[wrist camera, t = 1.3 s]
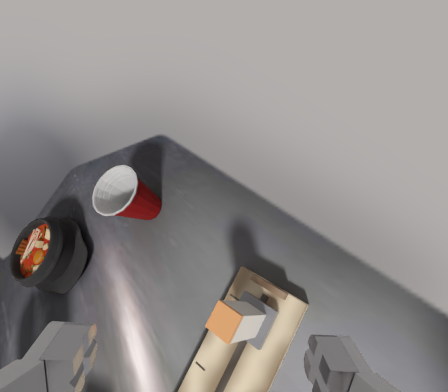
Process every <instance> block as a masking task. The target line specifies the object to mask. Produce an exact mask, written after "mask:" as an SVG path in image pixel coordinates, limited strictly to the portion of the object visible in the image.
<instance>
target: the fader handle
mask: <svg viewBox="0 0 448 392" xmlns="http://www.w3.org/2000/svg"><path fill="white" fill-rule="evenodd" d="M278 313H279V311H277V310H275V309H274V308H272V307H271V306H269V305H268V304H266V303H265V302H263V301H261V300H260V299H258V298H257V297H255V296H254V295H252V294H251V293H249V292H247V291H244V292H243V294H242V296H241V298H240V300H239V301H228V300H218V302H217V304H216V306H215V308H214V310H213V312H212V314H211V316H210V318H209V320H208V322H207V324H206V326H205V327H206V328H208V329H209V330H210V331H211V332H213V333H214V334H215V335H216V336H218V337H219V338H220V339H221V340H222V341H224V342H225V343H226V344H227V345H228V344H232V343H236V342H240V341H243V340H246V341H247V342H248V343H250V344H251V345H252V346H254V347H255V348H256V349H258V350H261V349H262V347H263V345H264V343H265V340H266V338H267V336H268V334H269V332H270V330H271V328H272V326H273V324H274V322H275V319H276V317H277V315H278Z"/></svg>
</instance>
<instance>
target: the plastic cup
mask: <svg viewBox="0 0 448 392" xmlns="http://www.w3.org/2000/svg"><path fill="white" fill-rule="evenodd" d="M92 199H93V206H94V208H95V210H96V211H97V213H99V214H101V215H103V216H112V215H116V216H124V217H130V218H136V219H144V220H151V219H153V218H155V217H156V216H157V215H158V214H159V212H160V210H161V205H162V204H161V200H160V199H159V198H158V197H157V196H156V195H155V194H154V193H153V192H152V191H151V190H150V189H149V188H148V187H147V186H146V185H145V184H144V183H142V182H141V181H140V180H139V179H138V178H137V174H136V173H135V172H134V170H133V169H132V168H131V167H128V166H126V165H120V166H115V167H113V168H111V169H110V170H108V171H107V172H106V173H105V174H104V175H103V176H102V177H101V178H100V179H99V181H98V182H97V184H96V186H95V188H94V192H93V196H92Z"/></svg>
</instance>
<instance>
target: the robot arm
mask: <svg viewBox="0 0 448 392" xmlns="http://www.w3.org/2000/svg"><path fill="white" fill-rule="evenodd" d="M95 334H96V325H95V324H90V323H77V322H59V321H52V322H50V323H49V324H48V325H47V326H46V327H45V329H44V330H43V331H42V333H41V334H40V335H39V337H38V338H37V339H36V341H35V342H34V343H33V345H32V346H31V347H30V349H29V350H28V351H27V353H26V354H25V355H24V357H23V358H22V359H21V360H15V361H13V362H12V363H10V364H8V365H7V366H5V367H4V368H2V369H0V392H81V391H82V388H83V386H84V384H85V377H84V376H85V375H86V374H87V373H89V372H90V371H91V368H92V366H93V364H94V360H95V357H96V352H97V342H96V340H95V339H94V336H95ZM308 344H309V347H310V348H309V349H308V350H307V351H305V356H304V368H305V373H306V376H307V378H308V380H309V381H310V382H311V383H312V384H313V389H312V392H401V391H399V390H398V389H397V388H396V387H394V386H393V385H392V384H390V383H389V382H388V381H386V380H385V379H384V378H382V377H381V376H380V375H378V374H377V373H373V372H372V370H371V369H370V367H369V366H368V364H367V362H366V361H365V359H364V358H363V356H362V354H361V353H360V351H359V350H358V348H357V346H356V345H355V343H354V342H353V340H352V338H350V337H349V336H334V335H311V336H310V337H309V340H308Z"/></svg>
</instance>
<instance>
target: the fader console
mask: <svg viewBox="0 0 448 392" xmlns="http://www.w3.org/2000/svg"><path fill="white" fill-rule="evenodd" d="M244 291H247V292H249V293H251V294H252V295H254V296H255V297H257V298H258V299H260V300H261V301H263V302H265V303H266V304H268V305H269V306H271V307H272V308H274V309H275V310H277V311H279V313H278V315H277V317H276V319H275V322H274V324H273V326H272V328H271V330H270V332H269V334H268V336H267V338H266V340H265V343H264V345H263V347H262V349H261V350H258V349H256V348H255V347H254V346H252V345H251V344H250V343H248V342H247V341H246V340H243V341H240V342H236V343H232V344H228V345H227V344H226V343H225V342H224V341H222V340H221V339H220V338H219V337H218V336H216V335H215V334H214V333H213V332H211V331H210V330H209V331H208V333H207V335H206V337H205V339H204V341H203V343H202V345H201V347H200V349H199V351H198V353H197V354H196V356H195V358H194V360H193V362H192V364H191V366H190V368H189V370H188V372H187V374H186V376H185V378H184V380H183V382H182V384H181V386H180V388H179V390H178V392H269V390H270V388H271V386H272V383H273V381H274V379H275V377H276V375H277V373H278V370H279V368H280V366H281V364H282V362H283V360H284V358H285V355H286V353H287V351H288V349H289V347H290V345H291V342H292V340H293V338H294V336H295V334H296V332H297V329H298V327H299V325H300V323H301V321H302V319H303V317H304V314H305V312H306V310H307V308H308V306H309V304H307V303H305V302H304V301H302V300H300V299H298V298H297V297H295V296H293V295H292V294H290V293H288V292H287V291H285V290H283V289H281V288H280V287H278V286H276V285H275V284H273V283H271V282H269V281H268V280H266V279H264V278H263V277H261V276H259V275H258V274H256V273H254V272H252V271H251V270H249V269H247V268H246V267H243V266H241V268H240V269H239V271H238V273H237V275H236V277H235V279H234V281H233V283H232V285H231V287H230V289H229V291H228V293H227V295H226V297H225V299H224V300H228V301H239V300H240V298H241V296H242V294H243V292H244Z"/></svg>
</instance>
